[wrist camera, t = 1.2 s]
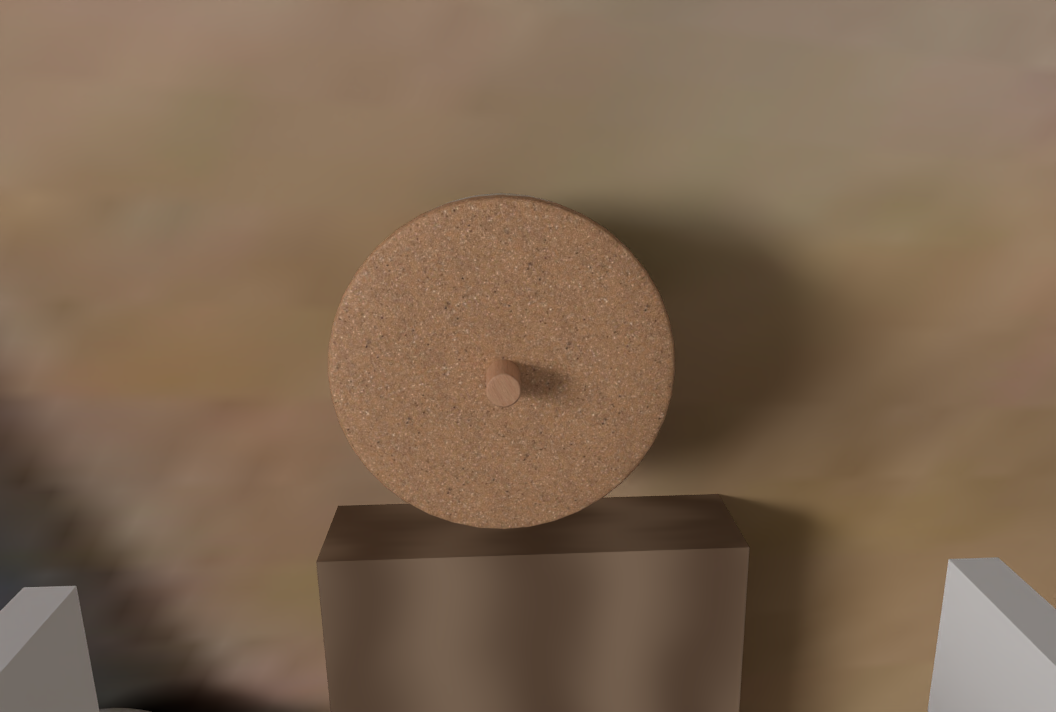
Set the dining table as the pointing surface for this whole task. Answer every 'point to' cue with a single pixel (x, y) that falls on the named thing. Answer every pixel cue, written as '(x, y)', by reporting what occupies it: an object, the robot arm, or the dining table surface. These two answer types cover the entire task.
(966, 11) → the dining table surface
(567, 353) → the lidded jar
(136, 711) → the teacup
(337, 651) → the walnut block
